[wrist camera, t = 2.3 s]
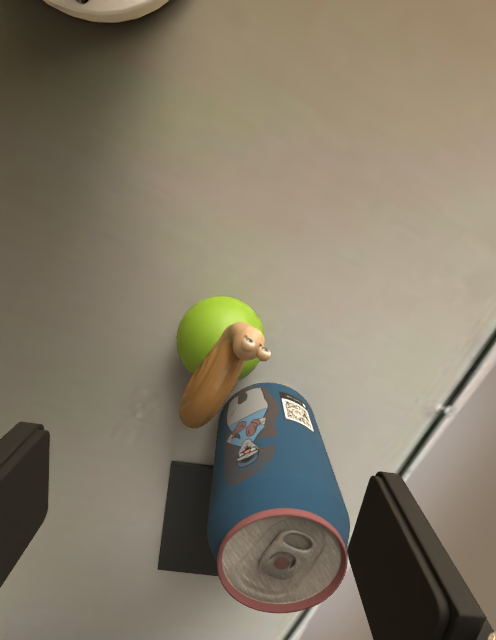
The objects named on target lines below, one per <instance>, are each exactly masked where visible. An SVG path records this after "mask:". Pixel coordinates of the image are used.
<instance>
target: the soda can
mask: <svg viewBox="0 0 496 640" xmlns="http://www.w3.org/2000/svg"><path fill="white" fill-rule="evenodd" d="M349 532H350V521H349V516H348V512H347V509H346V506H345V504H344V501H343V498H342V495H341V492H340V489H339V486H338V483H337V481H336V478H335V475H334V472H333V469H332V466H331V463H330V460H329V458H328V455H327V452H326V449H325V446H324V443H323V440H322V437H321V435H320V432H319V429H318V426H317V423H316V420H315V417H314V414H313V412H312V409H311V407H310V405H309V404H308V402H307V401H306V400H305V399H304V398H303V397H302V396H301V395H300V394H299V393H298V392H296V391H295V390H293V389H291V388H289V387H287V386H284V385H281V384H276V383H258V384H254V385H251V386H248V387H245V388H243V389H242V390H240V391H238V392H237V393H236V394H234V395H233V396H232V397H231V398H230V399H229V400H228V401H227V403H226V404H225V405H224V407H223V409H222V411H221V414H220V417H219V421H218V430H217V440H216V449H215V458H214V468H213V477H212V487H211V496H210V505H209V515H208V524H207V537H208V543H209V546H210V549H211V551H212V553H213V556H214V558H215V560H216V562H217V570H218V575H219V578H220V581H221V583H222V585H223V587H224V588H225V590H226V591H227V592H228V593H229V594H230V595H231V596H232V597H233V598H234V599H235V600H237V601H238V602H240V603H241V604H243V605H245V606H247V607H250V608H252V609H255V610H258V611H263V612H269V613H290V612H296V611H301V610H304V609H307V608H310V607H313V606H315V605H318V604H319V603H321V602H323V601H324V600H326V599H327V598H328V597H329V596H331V595H332V594H333V593H334V591H335V590H336V589H337V588H338V586H339V585H340V583H341V581H342V580H343V578H344V576H345V573H346V569H347V552H346V547H347V543H348V539H349Z"/></svg>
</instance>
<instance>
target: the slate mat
mask: <svg viewBox="0 0 496 640" xmlns="http://www.w3.org/2000/svg"><path fill="white" fill-rule="evenodd" d="M213 468H214V466H207V465H199V464H192V463H184V462H176V461H172V463H171V470H170V477H169V485H168V493H167V501H166V508H165V516H164V524H163V532H162V539H161V547H160V555H159V563H158V570H167V571H176V572H185V573H194V574H203V575H212V576H219V575H218V570H217V562H216V560H215V558H214V556H213V553H212V551H211V549H210V546H209V543H208V537H207V524H208V515H209V505H210V496H211V487H212V477H213Z"/></svg>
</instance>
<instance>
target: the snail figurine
mask: <svg viewBox="0 0 496 640" xmlns="http://www.w3.org/2000/svg"><path fill="white" fill-rule="evenodd" d="M264 345H265V338H264V330H263V327H262V324H261V322H260V320H259V318H258V316H257V315H256V313H255V312H254V311H253V310H252V309H251V308H250V307H249V306H248V305H246V304H245V303H243V302H241V301H239V300H237V299H234V298H231V297H225V296H217V297H211V298H207V299H204V300H202V301H200V302H198V303H197V304H195V305H194V306H193V307H191V308H190V309H189V310H188V311H187V313H186V314H185V315H184V317H183V318H182V320H181V322H180V325H179V328H178V331H177V349H178V353H179V356H180V359H181V361H182V362H183V364H184V366H185V367H186V368H187V369H188V370H189V372H191V373H192V374H193V375H192V377H191V379H190V381H189V383H188V385H187V387H186V389H185V392H184V394H183V398H182V402H181V405H180V410H179V416H180V419H181V421H182V423H183V424H184V425H185V426H187V427H190V428H198V427H201V426H203V425H204V424H206V423H207V422H208V421H210V420H211V419H212V418H213V417H214V416H215V414H216V413H217V412H218V411H219V409H220V408H221V407H222V405H223V404H224V402H225V401H226V399H227V398H228V396H229V395H230V393H231V391H232V389H233V388H234V386H235V384H236V382H237V381H238V380H240V379H242V378H244V377H245V376H247V375H248V374H249V373H250V372H251V371H252V370H253V369H254V368H255V367H256V365H257V364H258V362H259V361H267V360H268V359H269V358H270V356H271V353H270V351H269V349H267V348H266V347H264Z"/></svg>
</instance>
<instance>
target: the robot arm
mask: <svg viewBox="0 0 496 640" xmlns="http://www.w3.org/2000/svg"><path fill="white" fill-rule="evenodd" d="M43 1H44V2H46V3H47V4H48V5H50V6H52V7H54V8H56V9H58V10H60V11H62V12H64V13H66V14H68V15H70V16H73V17H77V18H81V19H85V20H88V21H92V22H111V23H117V22H122V21H127V20H132V19H137V18H139V17H142V16H144V15H146V14H148V13H151V12H153V11H155V10H157V9H159V8H160V7H161V6H163V5H164V4H165V3H167V2H168V1H169V0H89V1H88V2H87V3H86V4H84V2H85V0H43ZM49 444H50V434H49V431H46V430H44V426H43V425H42V424H35V423H28V422H19V423H18V424H16V425H15V426H14V427H13V428H12V429H11V430H10V431H9V432H8V433H7V434H6V435H4V436H3V437H2V438H1V439H0V587H1V586H2V584H3V583H4V581H5V580H6V578H7V577H8V575H9V574H10V572H11V571H12V569H13V568H14V566H15V565H16V563H17V561H18V560H19V558H20V557H21V555H22V554H23V552H24V551H25V549H26V548H27V546H28V545H29V543H30V542H31V540H32V539H33V537H34V535H35V534H36V532H37V531H38V529H39V528H40V526H41V525H42V523H43V521H44V519H45V517H46V514H47V510H48V486H49ZM348 556H349V561H350V565H351V568H352V571H353V574H354V577H355V581H356V584H357V587H358V590H359V594H360V597H361V600H362V604H363V607H364V610H365V613H366V617H367V620H368V623H369V626H370V630H371V633H372V636H373V639H374V640H496V631H495V632H494V630H493V629H492V627H491V625H490V624H489V622H488V620H487V619H486V616H485V614H484V613H483V611H482V610H481V608H480V606H479V604H478V603H477V601H476V600H475V598H474V596H473V595H472V593H471V591H470V590H469V588H468V586H467V585H466V583H465V581H464V580H463V578H462V576H461V575H460V573H459V571H458V570H457V568H456V567H455V565H454V563H453V562H452V560H451V558H450V557H449V555H448V553H447V552H446V550H445V548H444V547H443V545H442V543H441V542H440V540H439V538H438V537H437V535H436V534H435V532H434V530H433V529H432V527H431V525H430V524H429V522H428V520H427V519H426V517H425V515H424V514H423V512H422V510H421V509H420V507H419V505H418V504H417V502H416V501H415V499H414V497H413V496H412V494H411V492H410V491H409V489H408V487H407V486H406V484H405V482H404V481H403V479H402V477H401V476H400V475H399V474H394V473H387V472H378V473H377V474H376V476H371V478H370V480H369V483H368V486H367V489H366V493H365V496H364V499H363V502H362V505H361V508H360V512H359V515H358V518H357V521H356V524H355V528H354V531H353V534H352V537H351V540H350V544H349V548H348Z"/></svg>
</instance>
